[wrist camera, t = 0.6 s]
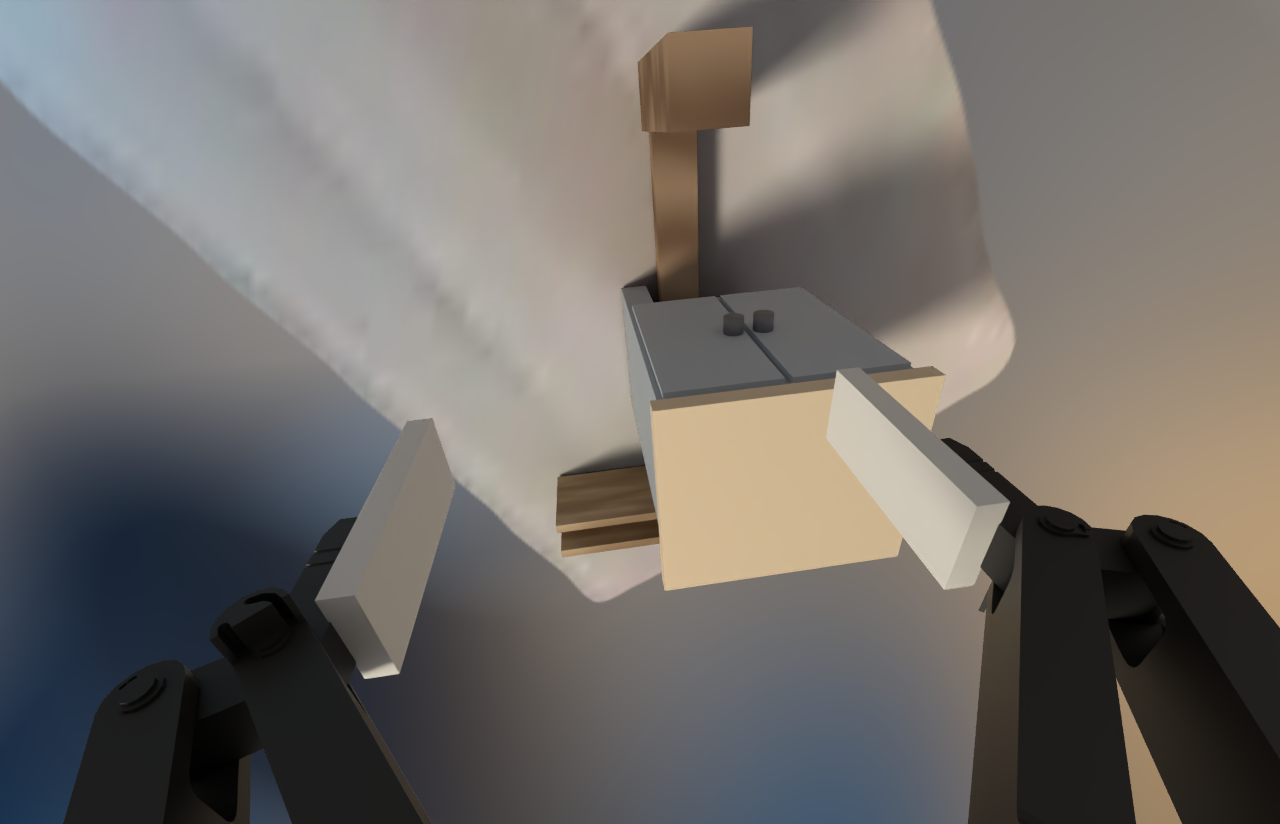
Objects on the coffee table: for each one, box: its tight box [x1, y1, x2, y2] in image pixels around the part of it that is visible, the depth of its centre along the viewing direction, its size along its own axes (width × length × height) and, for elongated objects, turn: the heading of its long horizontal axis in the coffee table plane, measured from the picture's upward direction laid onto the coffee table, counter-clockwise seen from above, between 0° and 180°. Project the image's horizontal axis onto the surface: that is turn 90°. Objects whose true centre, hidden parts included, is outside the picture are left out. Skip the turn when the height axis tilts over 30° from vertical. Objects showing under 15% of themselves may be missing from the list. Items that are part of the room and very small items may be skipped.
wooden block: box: [638, 27, 753, 302], centre depth 32 cm, size 17×4×12 cm, turn 4°
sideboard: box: [621, 286, 946, 591], centre depth 34 cm, size 13×14×21 cm
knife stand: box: [556, 466, 660, 557], centre depth 48 cm, size 4×20×7 cm, turn 94°
